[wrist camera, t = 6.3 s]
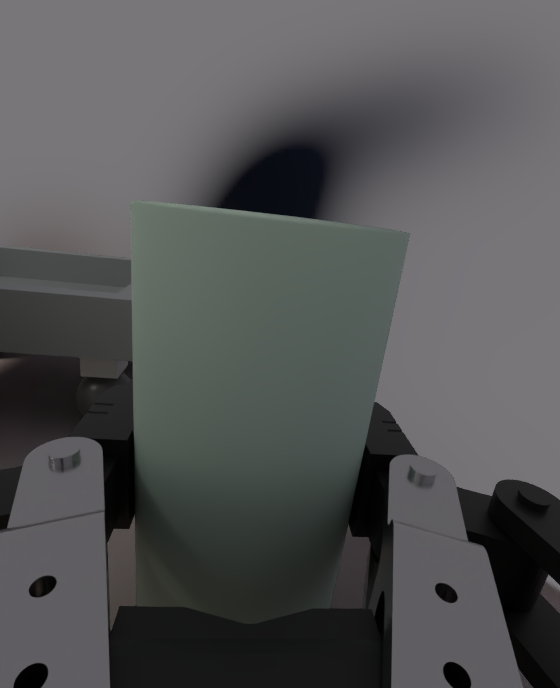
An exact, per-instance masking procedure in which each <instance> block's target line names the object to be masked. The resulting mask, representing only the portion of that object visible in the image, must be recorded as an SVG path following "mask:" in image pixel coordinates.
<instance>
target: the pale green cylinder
mask: <svg viewBox="0 0 560 688" xmlns="http://www.w3.org/2000/svg"><path fill="white" fill-rule="evenodd" d="M130 212H131V213H130V214H131V215H130V216H131V217H130V219H131V285H132V352H133V418H134V485H135V551H136V606H147V607H187V608H190V609H194V610H197V611H201V612H205V613H208V614H212V615H215V616H219V617H222V618H226V619H230V620H233V621H237V622H240V623H244V624H256V623H260V622H263V621H267V620H271V619H275V618H279V617H282V616H286V615H290V614H294V613H297V612H301V611H305V610H309V609H313V608H322V609H330V607H331V602H332V598H333V593H334V588H335V584H336V579H337V574H338V570H339V565H340V560H341V556H342V551H343V546H344V541H345V537H346V532H347V527H348V523H349V518H350V513H351V509H352V504H353V499H354V495H355V490H356V485H357V480H358V476H359V471H360V466H361V462H362V457H363V452H364V448H365V443H366V438H367V434H368V429H369V424H370V420H371V415H372V410H373V405H374V400H375V396H376V391H377V387H378V382H379V377H380V373H381V367H382V363H383V359H384V354H385V349H386V344H387V340H388V335H389V330H390V326H391V321H392V316H393V312H394V307H395V302H396V298H397V293H398V288H399V284H400V279H401V274H402V269H403V265H404V260H405V255H406V251H407V246H408V241H409V237H410V233H407V232H402V231H395V230H390V229H383V228H377V227H369V226H362V225H355V224H348V223H340V222H332V221H324V220H316V219H308V218H300V217H292V216H283V215H275V214H266V213H257V212H249V211H240V210H230V209H221V208H211V207H202V206H192V205H181V204H171V203H160V202H148V201H130Z"/></svg>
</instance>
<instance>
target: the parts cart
mask: <svg viewBox="0 0 560 688" xmlns="http://www.w3.org/2000/svg"><path fill="white" fill-rule="evenodd" d="M0 352H9V353H23V354H37V355H50V356H64V357H78V358H80V372H81V376H85V377H84V378H83V379H82V380H81V382H80V383H79V385H78V387H77V390H76V397H75V399H76V404H77V407H78V409H79V411H80V412H81V414H82V415H83V416H84V415H85V414H86V413H88V410H89V409H90V408H91V406H92V405H94V403H95V401H96V400H97V399H98V398H99V396H100V395H101V394H102V393H103V392H105V391H106V390H108V389H110V388H112V387H114V386H115V385H126V386H127V384H128V383H129V381H130V380H131V379H130V378H129V377H128V376H127V375H126V374H125V373H123V371H124V369H125V368H126V367H127V365H128V361H131V362H132V363H133V352H132V285H131V258H124V257H114V256H104V255H94V254H84V253H74V252H64V251H54V250H44V249H34V248H23V247H12V246H2V245H0Z"/></svg>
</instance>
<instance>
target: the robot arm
mask: <svg viewBox="0 0 560 688" xmlns="http://www.w3.org/2000/svg"><path fill="white" fill-rule="evenodd" d="M134 515H135V485H134V418H133V377H132V379H131V380H130V381H129V383H128V384H127V386H126V385H115V386H114V387H112V388H110V389H108V390H106V391H105V392H103V393H102V394H101V395H100V396H99V398H98V399H97V400H96V401H95V403H94V405H92V406H91V408H90V409H89V410H88V413H86V414H85V415H84V417H83V418H82V419H81V420H80V422H79V423H78V424H77V425H76V427H75V428H74V429H73V431H72V432H71V433H70V434H69V436H68V437H66V438H60V439H56V440H53V441H50V442H47V443H45V444H42V445H40V446H39V447H37V448H35V449H34V450H33V451H31V452H30V453H29V454H28V455H27V457H26V458H25V460H24V463H23V466H21V467H16V468H10V469H3V470H0V688H523V685H522V681H521V677H520V674H519V670H520V671H521V672H522V674H523V675H524V676H525V677H526V679H527V680H528V681H529V683H530V684H531V685H532V686H533V688H560V614H559V613H558V612H557V611H556V610H555V609H554V608H553V606H552V605H551V604H550V603H549V602H548V601H547V600H546V599H545V598H544V597H543V596H542V595H541V594H540V592H541V590H542V587H543V585H544V583H545V581H546V579H547V576H548V574H549V575H550V576H551V577H552V578H553V579H554V580H555V581H556V582H557V583H558V584H559V585H560V500H559V499H558V498H556V497H555V496H553V495H552V494H550V493H549V492H547V491H545V490H543V489H541V488H539V487H537V486H535V485H532V484H529V483H526V482H522V481H518V480H502V481H500V482H498V483H497V484H496V487H495V490H494V492H493V495H492V496H489V495H484V494H481V493H477V492H473V491H469V490H465V489H462V488H459V487H456V483H455V480H454V478H453V476H452V475H451V474H450V472H449V471H448V470H446V469H445V468H444V467H443V466H441V465H439V464H438V463H436V462H434V461H432V460H430V459H427V458H425V457H421V456H418V454H417V453H416V451H415V450H414V448H413V447H412V445H411V444H410V442H409V440H408V439H407V438H406V436H405V434H404V433H403V432H402V430H401V428H400V427H399V425H398V424H396V421H395V419H394V418H393V417H392V415H391V413H390V412H389V411H388V410H386V409H385V408H384V407H382V406H381V405H380V404H378V403H377V402H374V405H373V410H372V415H371V420H370V424H369V429H368V434H367V438H366V443H365V448H364V452H363V457H362V462H361V466H360V471H359V476H358V480H357V485H356V490H355V495H354V499H353V504H352V509H351V513H350V518H349V527H350V530H351V533H352V537H369V540H370V543H371V544H370V549H369V553H368V557H367V565H366V576H365V587H364V598H363V609H322V608H313V609H309V610H305V611H301V612H297V613H294V614H290V615H286V616H282V617H279V618H275V619H271V620H267V621H263V622H260V623H256V624H244V623H240V622H237V621H233V620H230V619H226V618H222V617H219V616H215V615H212V614H208V613H205V612H201V611H197V610H194V609H190V608H187V607H147V606H120V607H119V610H118V613H117V616H116V619H115V622H114V625H113V628H112V630H111V627H110V601H109V575H108V550H107V542H108V541H109V538H110V536H111V533H112V531H113V529H114V528H115V529H129V528H130V525H131V523H132V520H133V517H134ZM518 668H519V670H518Z"/></svg>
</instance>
